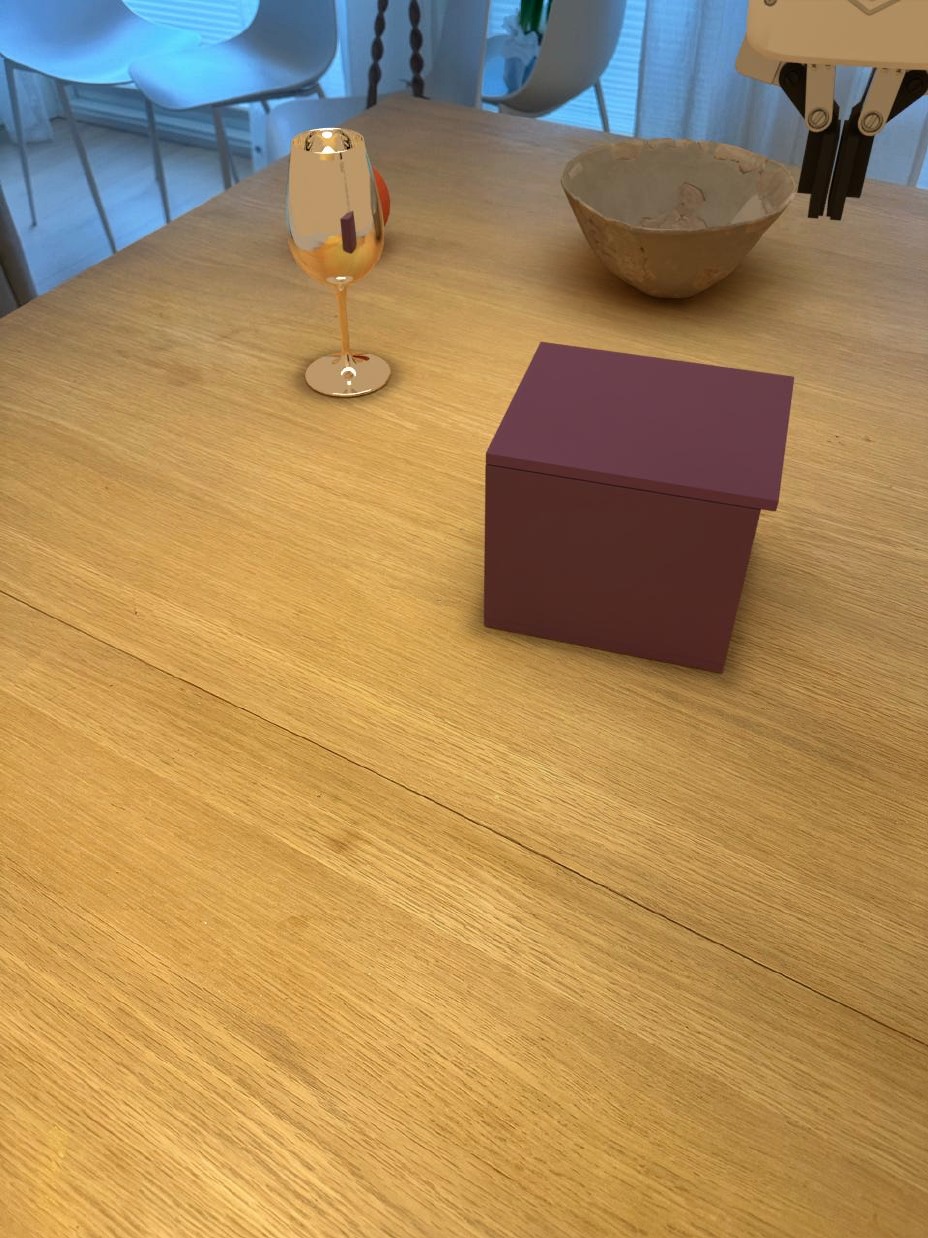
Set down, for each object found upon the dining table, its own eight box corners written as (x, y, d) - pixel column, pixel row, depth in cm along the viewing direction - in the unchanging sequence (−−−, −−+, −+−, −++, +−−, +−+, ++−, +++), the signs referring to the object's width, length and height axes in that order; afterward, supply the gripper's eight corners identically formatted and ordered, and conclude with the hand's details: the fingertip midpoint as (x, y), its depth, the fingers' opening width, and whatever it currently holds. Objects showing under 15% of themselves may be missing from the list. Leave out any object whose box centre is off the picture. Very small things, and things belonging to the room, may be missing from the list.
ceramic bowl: (542, 322, 100) (547, 218, 93) (568, 225, 117) (574, 130, 110) (780, 341, 97) (804, 235, 90) (772, 239, 114) (791, 142, 107)
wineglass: (333, 346, 97) (311, 116, 83) (408, 365, 94) (397, 131, 81) (286, 386, 92) (255, 148, 78) (364, 406, 89) (345, 164, 76)
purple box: (743, 543, 76) (779, 385, 67) (722, 674, 66) (760, 510, 57) (532, 506, 79) (540, 352, 70) (483, 626, 69) (485, 464, 61)
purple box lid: (792, 387, 67) (794, 376, 66) (775, 512, 57) (778, 500, 57) (540, 351, 70) (540, 340, 70) (485, 464, 61) (485, 452, 60)
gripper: (717, -266, 39) (663, 224, 51) (1162, -270, 36) (990, 254, 48) (737, -276, 44) (684, 171, 57) (1125, -280, 41) (979, 195, 53)
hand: (825, 208), depth 52 cm, fingers closed
